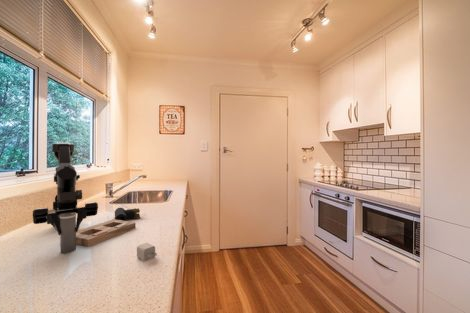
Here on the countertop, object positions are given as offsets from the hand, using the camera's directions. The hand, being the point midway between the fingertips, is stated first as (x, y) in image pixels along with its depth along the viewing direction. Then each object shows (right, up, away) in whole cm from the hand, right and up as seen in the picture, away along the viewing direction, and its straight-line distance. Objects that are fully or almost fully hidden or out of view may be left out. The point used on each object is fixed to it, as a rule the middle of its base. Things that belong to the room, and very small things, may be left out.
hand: (68, 233), depth 78 cm
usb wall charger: (+30, -7, -5) cm, 31 cm away
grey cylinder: (-1, -7, +1) cm, 7 cm away
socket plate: (+2, -6, +17) cm, 19 cm away
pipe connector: (+2, -7, +39) cm, 40 cm away
